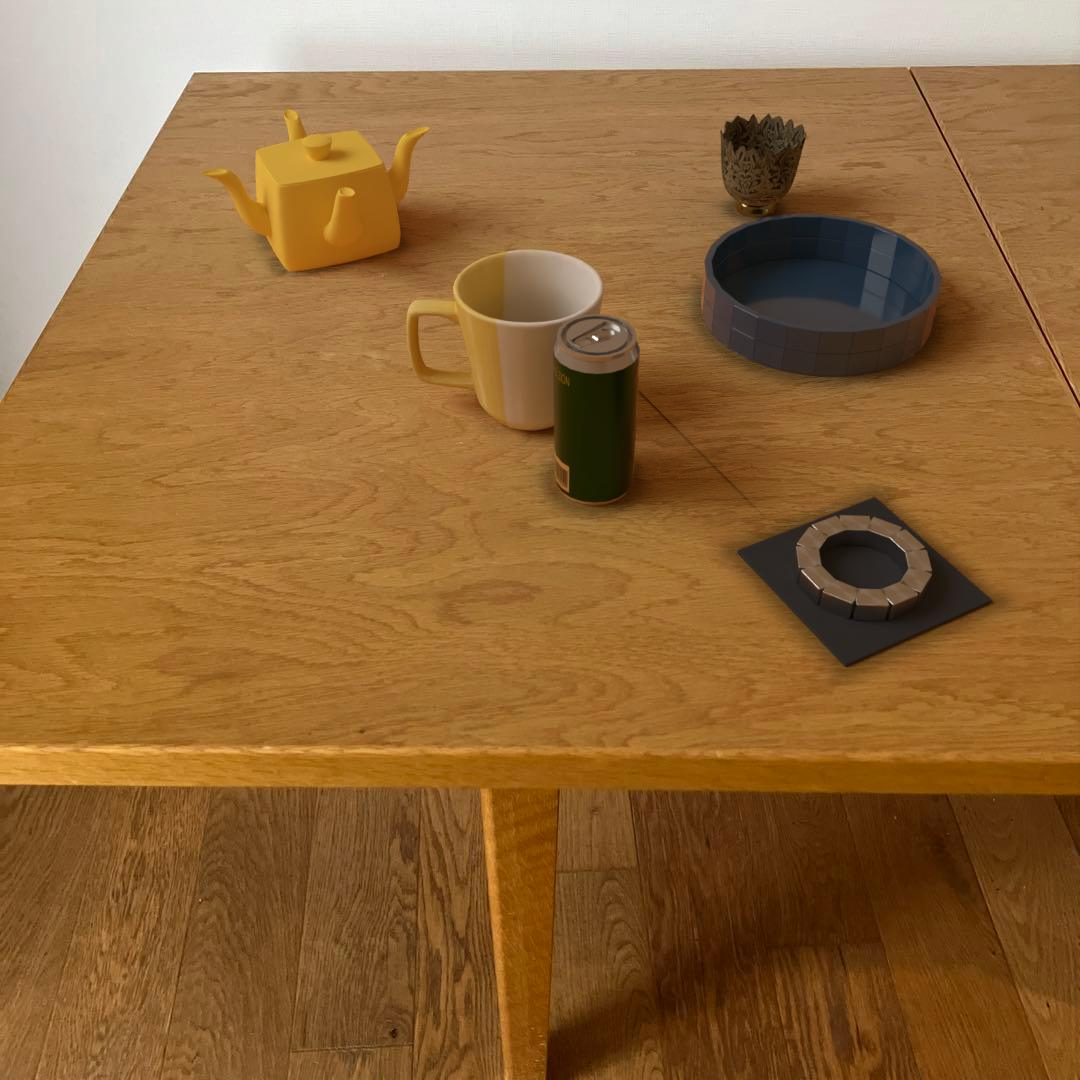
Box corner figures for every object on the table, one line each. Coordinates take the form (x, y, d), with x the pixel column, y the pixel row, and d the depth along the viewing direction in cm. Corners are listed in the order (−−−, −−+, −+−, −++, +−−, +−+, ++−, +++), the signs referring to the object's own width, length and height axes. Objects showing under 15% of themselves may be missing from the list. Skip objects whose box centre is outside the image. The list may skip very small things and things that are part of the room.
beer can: (585, 521, 79) (587, 370, 71) (539, 479, 82) (535, 330, 74) (649, 490, 81) (658, 340, 73) (601, 451, 84) (605, 303, 76)
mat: (873, 503, 80) (874, 496, 79) (990, 607, 73) (992, 600, 72) (736, 556, 76) (737, 549, 76) (844, 671, 69) (846, 664, 69)
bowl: (834, 242, 106) (842, 195, 103) (978, 342, 94) (992, 292, 91) (658, 294, 100) (661, 246, 97) (788, 408, 88) (796, 356, 85)
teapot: (219, 267, 104) (196, 161, 98) (297, 196, 114) (281, 95, 108) (370, 295, 101) (357, 187, 94) (437, 219, 110) (429, 116, 104)
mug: (614, 380, 91) (618, 256, 84) (582, 462, 84) (583, 334, 77) (444, 355, 94) (433, 234, 87) (398, 432, 86) (383, 306, 79)
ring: (870, 516, 78) (874, 500, 77) (954, 593, 73) (959, 577, 72) (768, 555, 75) (771, 539, 74) (847, 638, 70) (851, 622, 69)
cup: (729, 189, 114) (737, 106, 108) (804, 204, 111) (816, 120, 106) (701, 223, 109) (708, 138, 103) (780, 239, 106) (791, 154, 101)
